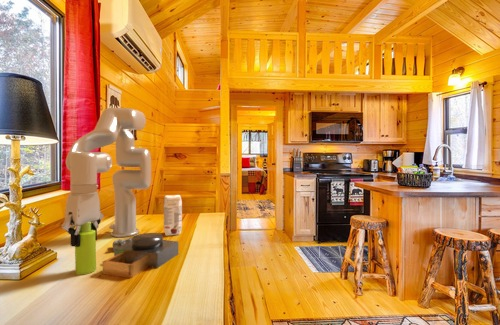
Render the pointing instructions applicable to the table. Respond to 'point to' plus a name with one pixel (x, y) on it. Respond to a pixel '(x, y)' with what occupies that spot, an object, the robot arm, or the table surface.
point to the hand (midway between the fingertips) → (84, 242)
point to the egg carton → (120, 242)
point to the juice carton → (172, 215)
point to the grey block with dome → (140, 255)
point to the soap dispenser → (86, 250)
